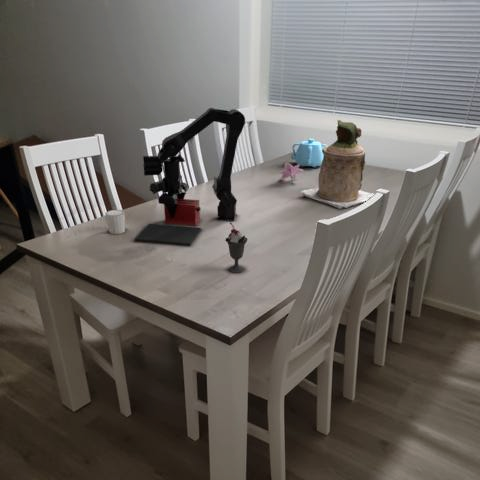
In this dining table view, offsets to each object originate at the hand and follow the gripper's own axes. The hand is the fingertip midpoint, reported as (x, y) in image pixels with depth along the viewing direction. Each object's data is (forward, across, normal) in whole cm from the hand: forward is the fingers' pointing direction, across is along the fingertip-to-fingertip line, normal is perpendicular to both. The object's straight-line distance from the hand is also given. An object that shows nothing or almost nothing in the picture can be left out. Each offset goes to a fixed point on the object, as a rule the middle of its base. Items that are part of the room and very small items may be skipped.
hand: (175, 215), depth 184 cm
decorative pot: (+3, -97, +46) cm, 107 cm away
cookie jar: (+3, -43, +62) cm, 75 cm away
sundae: (+3, +37, +31) cm, 48 cm away
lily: (+3, -63, +39) cm, 74 cm away
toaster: (+2, 0, +3) cm, 4 cm away
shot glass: (+3, +14, -18) cm, 23 cm away
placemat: (+2, +14, +2) cm, 15 cm away
